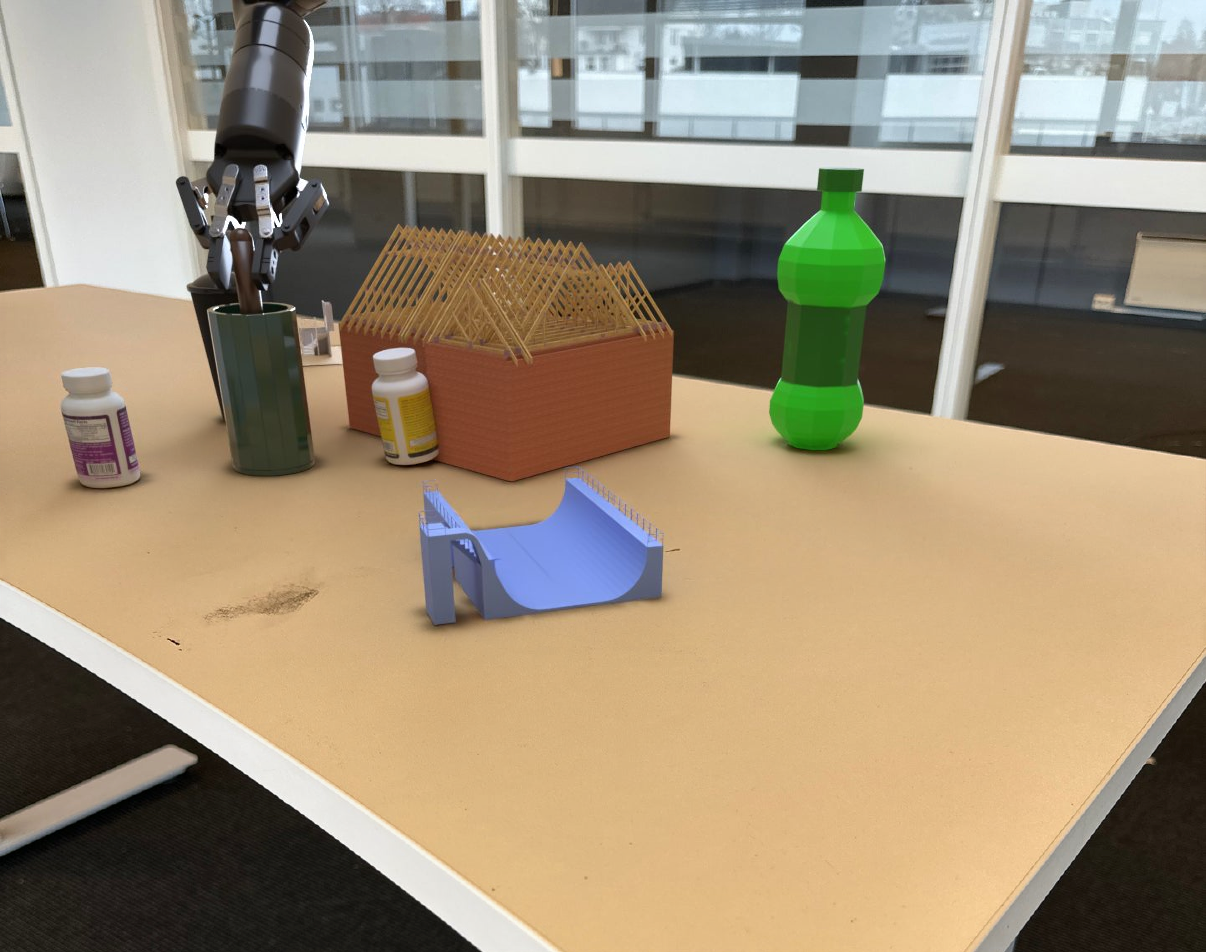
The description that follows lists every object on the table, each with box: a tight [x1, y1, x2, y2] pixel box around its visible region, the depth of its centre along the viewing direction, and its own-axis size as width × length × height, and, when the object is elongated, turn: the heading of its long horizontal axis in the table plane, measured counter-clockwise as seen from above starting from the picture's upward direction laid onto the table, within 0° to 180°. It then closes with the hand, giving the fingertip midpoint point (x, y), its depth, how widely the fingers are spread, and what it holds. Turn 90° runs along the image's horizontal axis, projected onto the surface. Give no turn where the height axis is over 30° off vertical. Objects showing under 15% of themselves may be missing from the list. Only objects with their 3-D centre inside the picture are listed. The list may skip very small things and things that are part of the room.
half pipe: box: [418, 466, 664, 627], centre depth 83 cm, size 18×16×7 cm
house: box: [338, 223, 675, 482], centre depth 114 cm, size 28×23×19 cm
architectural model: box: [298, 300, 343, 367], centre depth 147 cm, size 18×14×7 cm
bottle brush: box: [229, 227, 263, 314], centre depth 103 cm, size 4×4×20 cm
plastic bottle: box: [768, 167, 886, 451], centre depth 110 cm, size 10×10×25 cm
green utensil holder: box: [207, 301, 315, 477], centre depth 104 cm, size 8×8×14 cm
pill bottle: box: [60, 366, 141, 489], centre depth 100 cm, size 5×5×10 cm
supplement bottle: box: [372, 348, 439, 466], centre depth 107 cm, size 5×5×10 cm
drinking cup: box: [186, 214, 262, 422], centre depth 119 cm, size 8×8×20 cm
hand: (239, 283), depth 98 cm, fingers open, 3 cm apart
